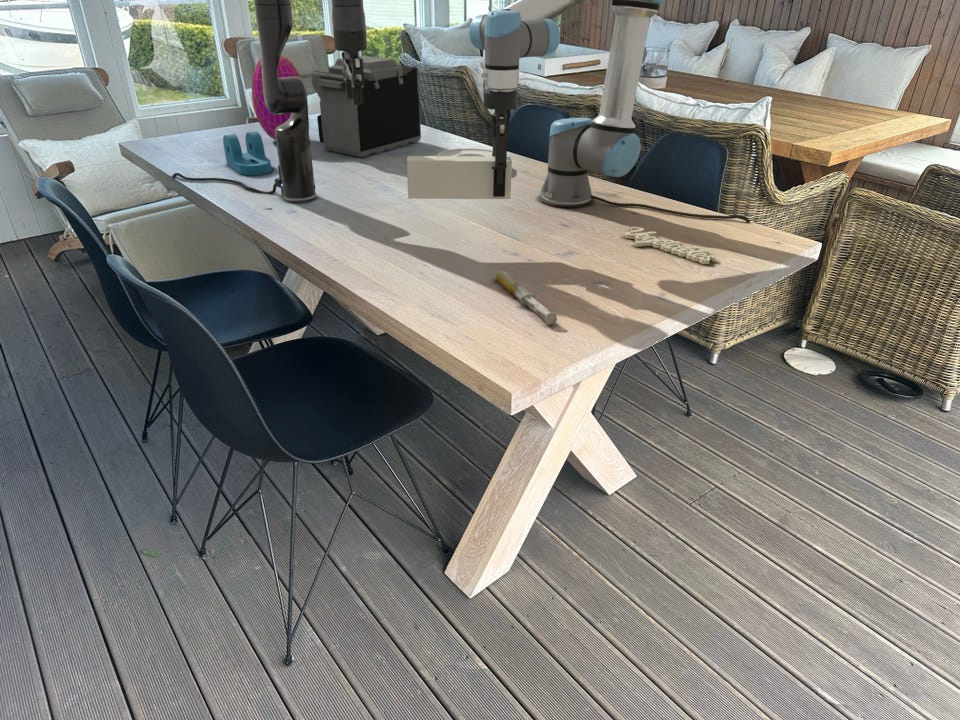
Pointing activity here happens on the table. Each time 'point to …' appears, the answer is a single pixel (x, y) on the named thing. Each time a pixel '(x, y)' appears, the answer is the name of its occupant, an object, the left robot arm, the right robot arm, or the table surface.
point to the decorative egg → (262, 113)
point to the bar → (454, 177)
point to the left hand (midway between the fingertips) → (355, 101)
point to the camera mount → (246, 154)
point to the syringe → (525, 297)
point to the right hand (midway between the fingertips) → (498, 192)
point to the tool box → (369, 108)
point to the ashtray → (467, 152)
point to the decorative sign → (669, 245)
